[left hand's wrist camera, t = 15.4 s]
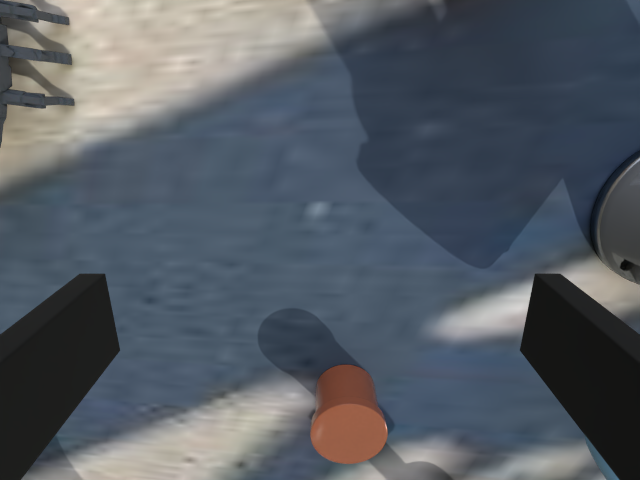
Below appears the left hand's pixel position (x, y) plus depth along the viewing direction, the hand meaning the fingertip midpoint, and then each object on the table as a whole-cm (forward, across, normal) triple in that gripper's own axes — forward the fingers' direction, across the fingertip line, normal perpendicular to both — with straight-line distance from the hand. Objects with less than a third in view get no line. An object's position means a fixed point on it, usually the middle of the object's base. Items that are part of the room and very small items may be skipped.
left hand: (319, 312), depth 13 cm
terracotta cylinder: (+29, -3, +27) cm, 40 cm away
